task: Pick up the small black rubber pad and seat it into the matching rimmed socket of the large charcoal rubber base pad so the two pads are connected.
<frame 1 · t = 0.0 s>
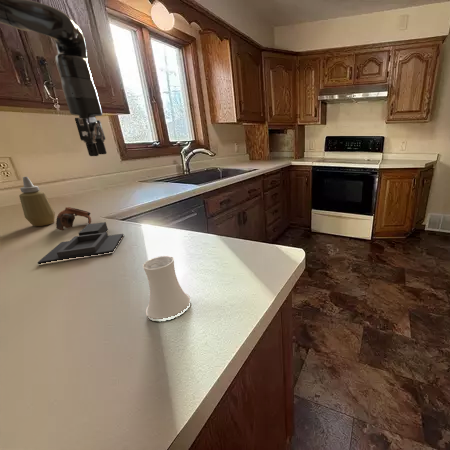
hand: (98, 155, 77), 26 cm above the counter, tool pointing down, fingers open, 8 cm apart
squeeze bottle: (44, 224, 94), on the counter
base pad: (86, 249, 72), on the counter
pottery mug: (74, 227, 90), on the counter
small pad: (95, 235, 82), on the counter
vase: (169, 309, 47), on the counter
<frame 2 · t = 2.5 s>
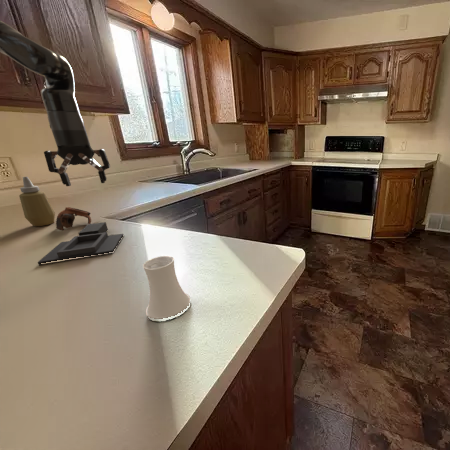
hand: (86, 184, 77), 17 cm above the counter, tool pointing down, fingers open, 8 cm apart
nothing on the counter moved.
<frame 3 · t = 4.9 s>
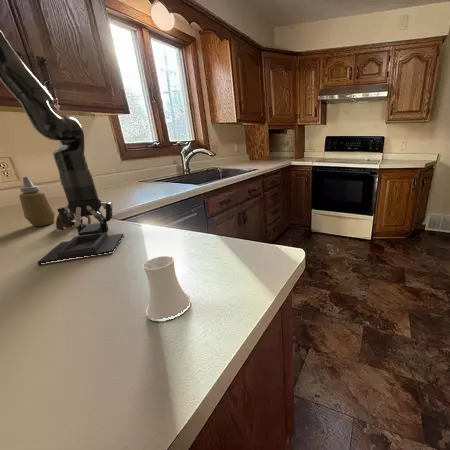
hand: (95, 234, 82), 0 cm above the counter, tool pointing down, fingers closed on small pad, 5 cm apart
small pad: (95, 235, 82), on the counter, touching gripper
everything else where it was.
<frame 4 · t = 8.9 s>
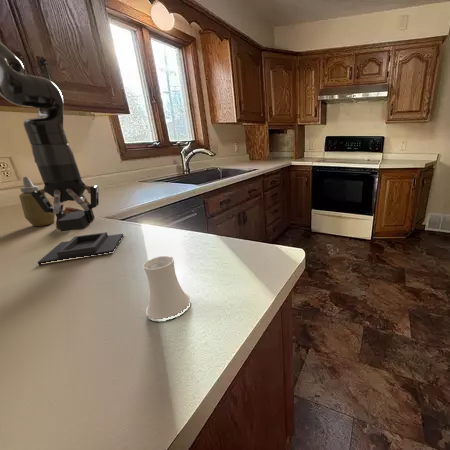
hand: (78, 223, 69), 8 cm above the counter, tool pointing down, fingers closed on small pad, 5 cm apart
small pad: (78, 225, 70), point 8 cm above the counter, touching gripper
everything else where it was.
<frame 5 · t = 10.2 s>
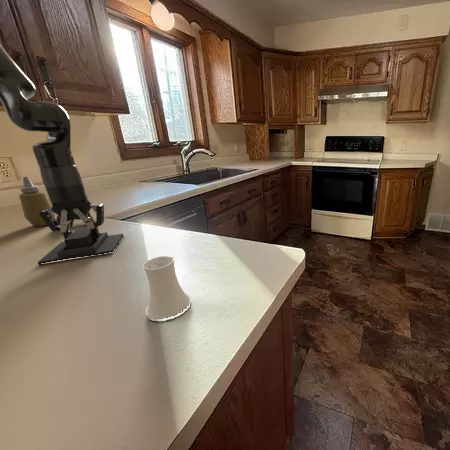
hand: (84, 241, 71), 3 cm above the counter, tool pointing down, fingers closed on small pad, 5 cm apart
base pad: (86, 249, 72), on the counter, touching gripper
small pad: (84, 242, 71), point 2 cm above the counter, touching gripper
everything else where it was.
when the fingers open (3 cm above the counter, at t = 13.3 s): small pad drops 1 cm, resting on base pad.
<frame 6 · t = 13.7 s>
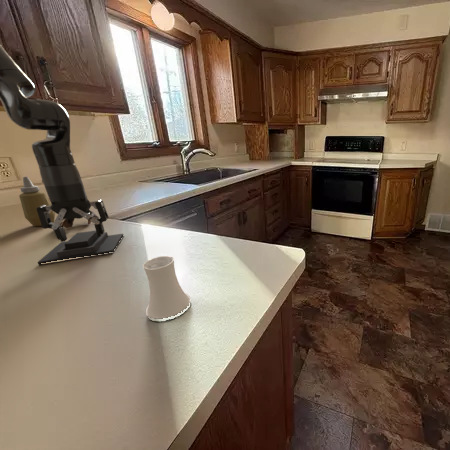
hand: (82, 237, 71), 4 cm above the counter, tool pointing down, fingers open, 8 cm apart
base pad: (86, 249, 72), on the counter, touching small pad
small pad: (85, 246, 72), point 1 cm above the counter, touching base pad
everything else where it was.
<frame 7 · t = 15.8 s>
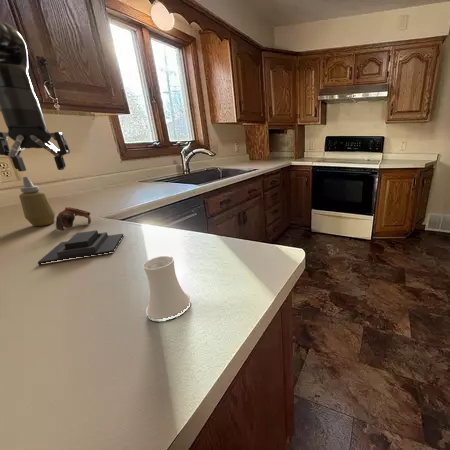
hand: (42, 170, 70), 22 cm above the counter, tool pointing down, fingers open, 8 cm apart
nothing on the counter moved.
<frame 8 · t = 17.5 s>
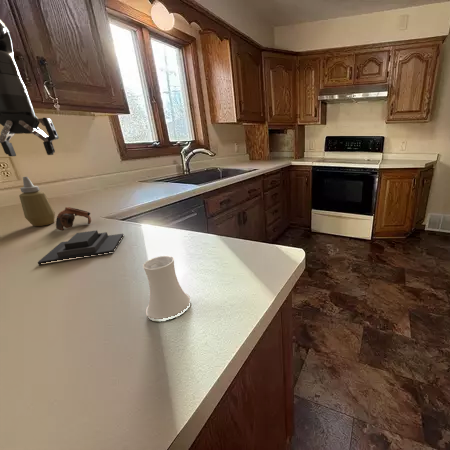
hand: (32, 155, 73), 26 cm above the counter, tool pointing down, fingers open, 8 cm apart
nothing on the counter moved.
at the end: small pad 0.1 cm off-centre on the base pad, point 1.0 cm above the base pad's base; small pad tilted 0°; the gripper is holding nothing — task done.
